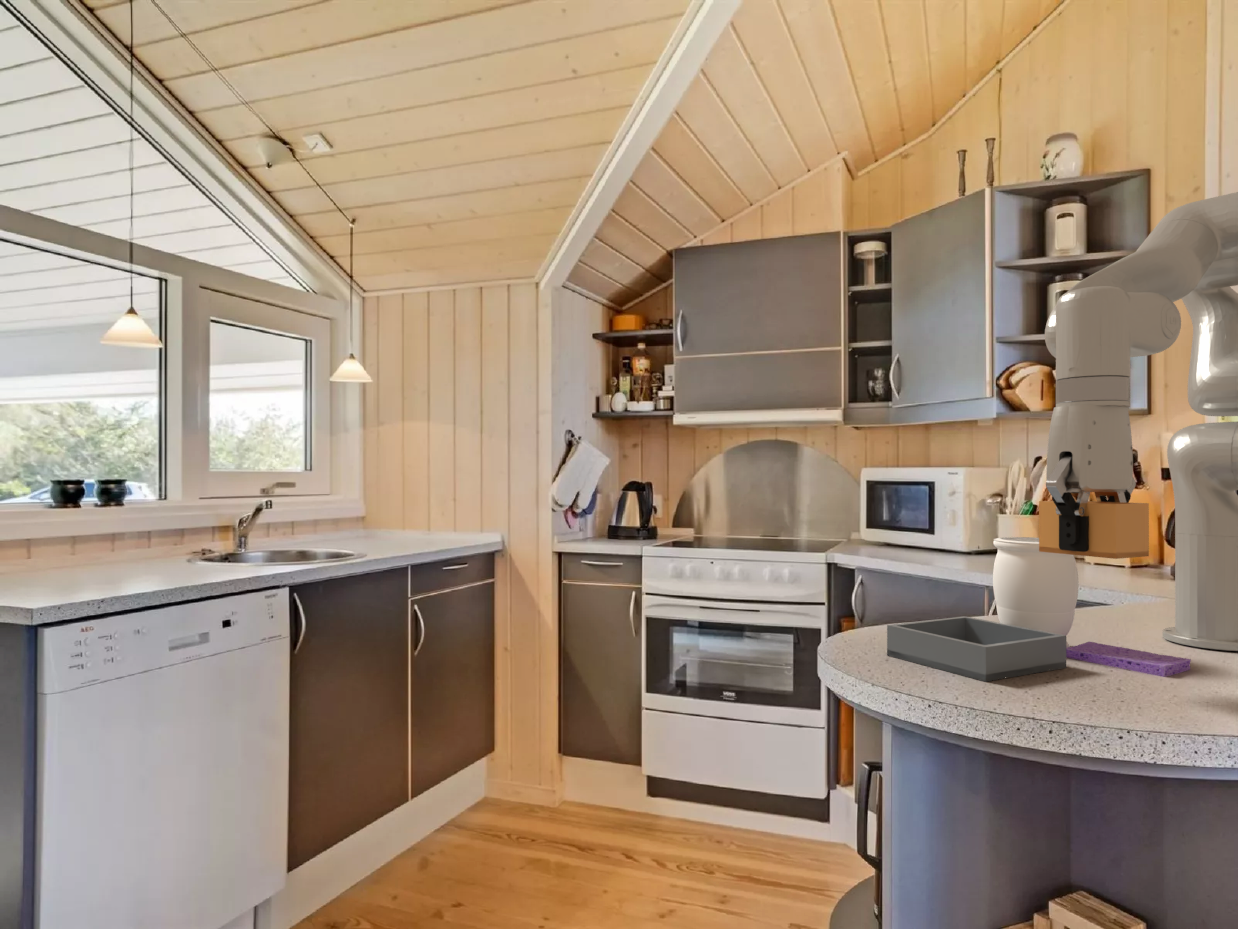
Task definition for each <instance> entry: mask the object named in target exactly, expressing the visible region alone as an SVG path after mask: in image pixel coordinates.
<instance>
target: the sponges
mask: <svg viewBox="0 0 1238 929" xmlns="http://www.w3.org/2000/svg"><path fill="white" fill-rule="evenodd" d="M1067 658H1068V659H1073V660H1079V661H1082V662H1083V661H1084V662H1088V663H1093V664H1098V665H1101V666H1102V665H1103V666H1109V667H1112V668H1117V667H1118V668H1117V669H1123V670H1129V671H1133V672H1138V673H1143V674H1147V675H1152V676H1157V677H1163V678H1166V677H1169V676H1173V675H1177V674H1180V673H1183V672H1187V671H1190V670H1191V666H1190V665H1191V662H1192V659H1191V658H1186V657H1185V658H1184V657H1181V656H1180V657H1178V656H1177V657H1176V656H1174V655H1173V656H1172V655H1167V654H1158V653H1152V652H1149V651H1143V650H1138V649H1133V648H1127V647H1122V646H1115V645H1111V644H1103V643H1099V642H1096V641H1095V642H1094V641H1087V642H1083V643H1081V644H1078V645H1074V646H1069V647H1067V648H1066V659H1067Z"/></svg>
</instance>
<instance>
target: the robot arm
mask: <svg viewBox="0 0 1238 929" xmlns="http://www.w3.org/2000/svg"><path fill="white" fill-rule="evenodd" d="M1235 286H1238V191H1236V192H1232V193H1227V194H1222V195H1219V196H1214V197H1210V198H1205V199H1201V200H1196V201H1192V202H1189V203H1185V204H1183V205H1180V206H1177V207H1176V208H1173V209H1171V210H1170V211H1169V212H1167V213H1166V214H1165V215H1164V216H1163V217H1162V218H1161V219H1160V221H1159V222H1158V223H1157V224H1156V226H1155V227H1154V228H1153V229H1152V230H1151V231H1150V233H1149V234H1148V236H1147V237H1146V238H1145V239H1144V241H1143V242H1142V243H1141V244H1140V245H1139V247H1138V248H1137V249H1136V251H1135V252H1132V253H1131V254H1129V255H1126V256H1124V257H1122V258H1120V259H1119V260H1117V261H1115V262H1112V263H1111V264H1109V265H1108V266H1106V267H1104V268H1101V269H1100V270H1098V271H1096V272H1094V273H1093V274H1091V275H1089V276H1087V277H1085V278H1083V279H1081V280H1080V281H1079V282H1077V283H1076V284H1074V285H1073V286H1072V287H1070V288H1069V290H1067V291H1066V292H1065V293H1063V294H1062V295H1061V296H1060V297H1059V298H1058V300H1057V301H1056V305H1055V306H1054V307H1053V309H1052V310H1051V312H1050V314H1049V315H1048V318H1047V321H1046V325H1045V329H1044V341H1045V345H1046V349H1047V350H1048V352H1049V353H1050V354H1051V356H1052V357H1054V358H1055V407H1053V411H1052V414H1051V419H1050V424H1049V433H1048V438H1047V439H1048V440H1047V441H1048V442H1047V453H1046V470H1045V471H1046V472H1045V473H1046V474H1045V475H1046V478H1045V479H1046V481H1045V487H1046V488H1047V491H1048V492H1049V494H1050V496H1051V501H1053V502H1054V503H1055V505H1056V514H1057V515H1059V548H1060V549H1061V550H1069V551H1080V552H1086V551H1088V550H1089V516H1084V514H1085V510H1086V507H1087V503H1088V501H1089V498H1090V495H1091V493H1094V496H1095V500H1096V502H1124V503H1130V500H1131V497H1132V496H1131V495H1132V493H1133V491H1134V490H1135V487H1136V484H1137V483H1136V479H1135V478H1134V477H1133V473H1134V471H1133V470H1134V457H1133V456H1134V455H1133V453H1134V452H1133V440H1132V438H1133V437H1132V430H1131V429H1132V428H1131V419H1130V413H1129V408H1131V358H1138V357H1147V356H1152V355H1156V354H1158V353H1161V352H1164V351H1166V350H1167V349H1169V348H1171V347H1172V346H1173V344H1175V342H1176V341H1177V339H1178V337H1179V335H1180V333H1181V329H1182V317H1181V313H1180V310H1179V309H1178V307H1177V305H1176V304H1175V302H1177V301H1179V300H1181V301H1182V303H1183V305H1184V306H1185V308H1186V310H1187V312H1188V314H1189V317H1190V320H1191V325H1192V340H1191V341H1192V342H1191V350H1190V359H1189V368H1188V377H1187V401H1188V404H1189V406H1190V409H1192V411H1194V412H1195V413H1197V414H1200V415H1202V416H1207V417H1238V292H1236V290H1234V289H1233V288H1232V287H1235ZM1166 450H1167V451H1166V456H1167V463H1168V468H1169V473H1170V478H1171V483H1172V491H1173V497H1174V498H1173V499H1174V517H1175V518H1174V520H1175V521H1174V522H1175V523H1174V524H1175V526H1174V534H1175V535H1174V537H1175V538H1174V539H1175V540H1174V550H1175V551H1174V552H1175V553H1174V556H1175V557H1174V558H1175V560H1174V565H1175V566H1174V567H1175V568H1174V574H1175V575H1174V576H1175V577H1174V579H1175V580H1174V581H1175V582H1174V584H1175V585H1174V594H1175V596H1174V597H1175V598H1174V619H1175V620H1174V623H1175V625H1174V626H1171V627H1169V626H1168V627H1165V628H1163V629H1162V638H1164V639H1165V640H1167V641H1169V642H1173V643H1175V644H1180V645H1185V646H1190V647H1194V648H1202V649H1210V650H1218V651H1226V652H1227V651H1231V652H1238V494H1237V492H1236V491H1238V421H1221V422H1203V423H1197V424H1192V425H1187V426H1185V427H1183V428H1181V429H1179V430H1177V431H1176V432H1175V433H1173V435H1172V436H1171V437H1170V439H1169V441H1168V443H1167V449H1166ZM1107 496H1108V498H1107ZM1074 497H1077V498H1076V500H1075V498H1074ZM1076 501H1077V502H1076Z"/></svg>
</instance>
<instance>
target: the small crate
mask: <svg viewBox="0 0 1238 929" xmlns="http://www.w3.org/2000/svg"><path fill="white" fill-rule="evenodd" d="M1075 501H1076V502H1077V500H1075ZM1149 506H1150V503H1147V502H1128V503H1124V502H1097V500H1096V501H1095V500H1094V501H1093V500H1088V503H1087V507H1086V510H1085V514H1084V516H1089V550H1088V551H1086V552H1080V551H1069V550H1061V549H1060V548H1059V515H1057V514H1056V505H1055V503H1054V502H1053V500H1043V501H1042V500H1041V501H1040V500H1039V501H1038V526H1039V527H1038V538H1039V552H1050V553H1060V554H1071V555H1074V556H1083V557H1094V558H1103V559H1112V560H1113V559H1115V560H1117V559H1119V560H1120V559H1130V558H1143V557H1145V558H1146V557H1149V556H1150V553H1149V552H1150V551H1149V550H1150V548H1149V547H1150V546H1149V544H1150V541H1149V540H1150V539H1149V537H1150V535H1149V534H1150V531H1149V530H1150V524H1149V520H1150V518H1149V517H1150V515H1149V514H1150V512H1149V510H1150V507H1149Z"/></svg>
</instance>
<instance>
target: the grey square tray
mask: <svg viewBox="0 0 1238 929" xmlns="http://www.w3.org/2000/svg"><path fill="white" fill-rule="evenodd" d="M886 633H887V634H886V656H887V657H888V656H889V657H891V658H895V659H900V660H902V661H907V662H910V663H915V664H918V665H921V666H925V667H930V668H933V669H936V670H941V671H944V672H948V673H952V674H956V675H960V676H963V677H965V678H966V677H967V678H970V679H975V680H978V681H981V682H993V681H997V680H998V679H999V680H1003V679H1002V678H1004V679H1006V678H1005V677H1010V678H1014V677H1020V676H1025V675H1026V676H1027V675H1033V674H1038V673H1044V672H1051V671H1055V670H1056V671H1057V670H1061V669H1067V657H1066V641H1067V635H1060V634H1055V633H1050V632H1045V631H1039V630H1034V629H1029V628H1024V627H1018V626H1013V625H1008V624H1003V623H1000V622H996V621H991V620H987V619H981V618H976V617H971V616H966V615H965V616H955V617H948V618H947V617H946V618H938V619H929V620H928V619H927V620H919V621H911V622H901V623H893V624H887V626H886ZM992 680H993V681H992ZM999 680H998V681H999Z"/></svg>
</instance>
